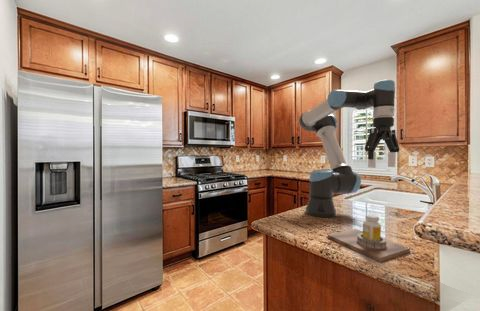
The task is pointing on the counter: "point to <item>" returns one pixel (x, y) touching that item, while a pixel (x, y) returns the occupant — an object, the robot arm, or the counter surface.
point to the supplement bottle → (371, 228)
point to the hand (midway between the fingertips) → (381, 167)
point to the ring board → (365, 250)
